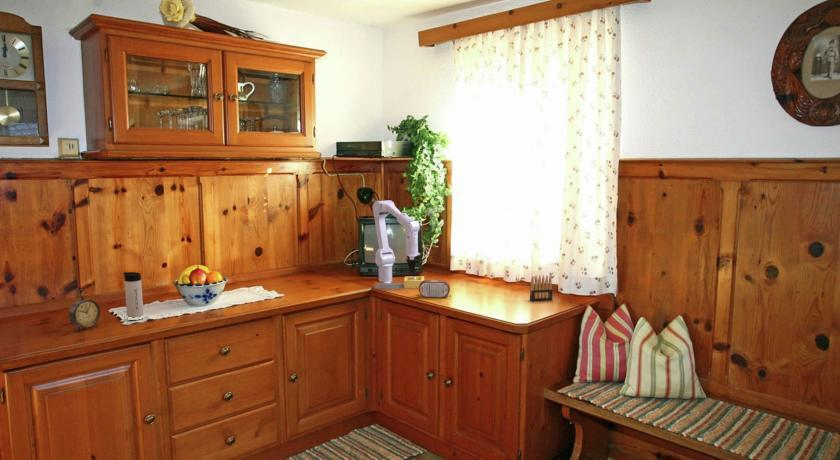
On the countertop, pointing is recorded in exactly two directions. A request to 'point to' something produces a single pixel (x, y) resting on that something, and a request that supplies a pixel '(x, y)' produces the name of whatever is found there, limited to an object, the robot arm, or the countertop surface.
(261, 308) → the countertop surface
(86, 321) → the alarm clock
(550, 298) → the ammunition clip
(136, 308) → the travel mug
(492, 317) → the countertop surface
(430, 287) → the tin
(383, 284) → the keeper board
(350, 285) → the countertop surface
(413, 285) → the link
